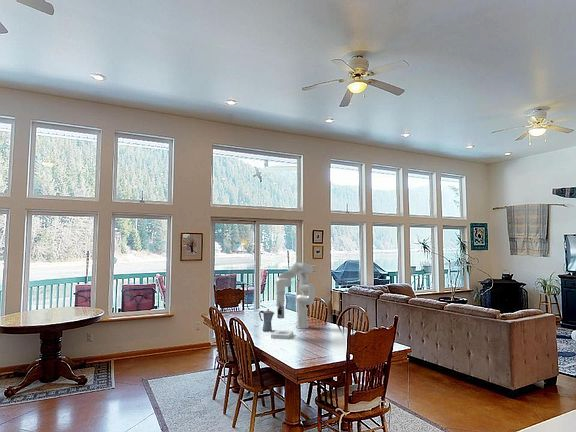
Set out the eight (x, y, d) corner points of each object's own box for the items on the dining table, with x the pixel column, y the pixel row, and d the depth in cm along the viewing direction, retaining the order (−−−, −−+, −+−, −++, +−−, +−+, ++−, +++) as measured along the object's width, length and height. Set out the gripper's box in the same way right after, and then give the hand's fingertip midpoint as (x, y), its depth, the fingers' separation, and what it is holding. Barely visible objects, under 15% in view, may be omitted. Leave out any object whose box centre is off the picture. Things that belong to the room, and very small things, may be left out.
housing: (276, 333, 343) (276, 330, 343) (293, 334, 339) (293, 331, 339) (271, 338, 327) (270, 334, 327) (288, 339, 323) (288, 335, 323)
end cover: (278, 317, 338) (278, 304, 338) (284, 317, 336) (284, 304, 337) (276, 318, 332) (276, 305, 333) (283, 318, 330) (283, 305, 331)
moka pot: (273, 332, 349) (273, 310, 350) (257, 331, 352) (257, 309, 353) (275, 329, 358) (275, 308, 360) (260, 329, 361) (260, 307, 363)
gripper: (279, 291, 345) (279, 311, 344) (273, 294, 328) (274, 315, 327) (287, 292, 343) (287, 312, 342) (282, 294, 326) (282, 315, 325)
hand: (280, 313), depth 334 cm, fingers closed on end cover, 6 cm apart
